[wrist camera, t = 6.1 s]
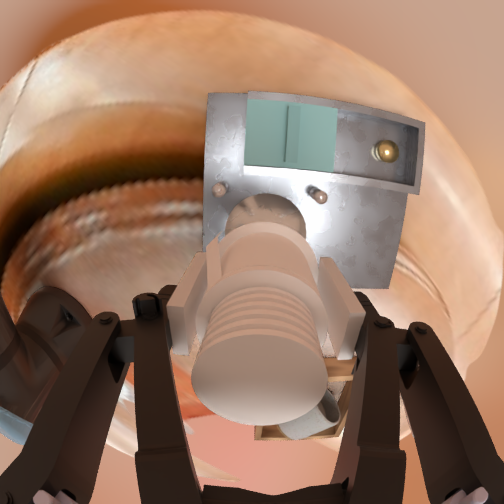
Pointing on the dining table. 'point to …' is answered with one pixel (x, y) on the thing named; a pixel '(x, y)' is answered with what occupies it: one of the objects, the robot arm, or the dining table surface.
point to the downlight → (261, 327)
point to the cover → (290, 135)
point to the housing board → (318, 184)
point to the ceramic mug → (313, 419)
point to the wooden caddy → (338, 372)
